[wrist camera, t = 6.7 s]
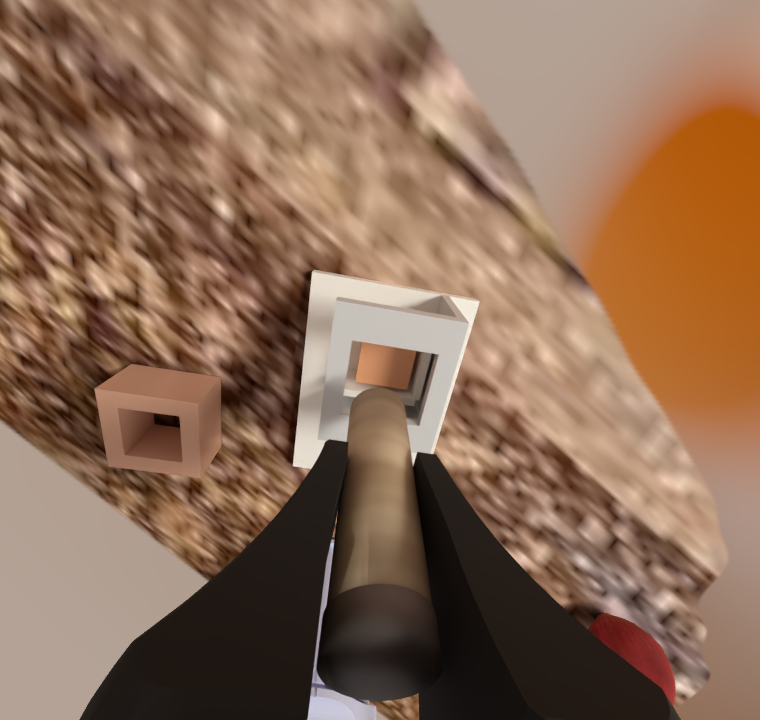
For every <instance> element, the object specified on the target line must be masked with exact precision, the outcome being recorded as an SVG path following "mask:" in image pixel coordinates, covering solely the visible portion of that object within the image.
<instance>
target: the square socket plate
mask: <svg viewBox="0 0 760 720" xmlns="http://www.w3.org/2000/svg"><path fill="white" fill-rule="evenodd" d="M478 305H479V301H478V300H477V299H475V298H469V297H464V296H458V295H452V294H447V293H441V292H436V291H430V290H424V289H419V288H413V287H408V286H402V285H397V284H391V283H385V282H380V281H374V280H369V279H363V278H358V277H352V276H346V275H341V274H335V273H330V272H324V271H319V270H313V271H312V278H311V288H310V299H309V309H308V319H307V329H306V339H305V349H304V359H303V369H302V379H301V389H300V399H299V409H298V419H297V429H296V439H295V450H294V460H293V466H295V467H303V468H310V469H312V467H313V465H314V464H315V462H316V460H317V459H318V457H319V455H320V453H321V451H322V449H323V446H324V443H325V442H326V441H327V440H329V439H331V440H338V441H345V442H346V441H347V433H348V425H349V417H350V408H351V404H352V402H353V400H354V399H355V397H356V396H357V395H358V394H360V393H361V392H363V391H365V390H367V389H370V388H385V389H389V390H391V391H393V392H395V393H396V394H397V395H398V396H399V397H400V398H401V399H402V401H403V403H404V406H405V413H406V420H407V427H408V434H409V441H410V449H411V456H412V463H413V465H414V462H415V458H416V455H417V452H422V453H429V454H433V453H434V449H435V446H436V443H437V440H438V436H439V433H440V430H441V426H442V423H443V420H444V417H445V413H446V410H447V407H448V404H449V400H450V397H451V394H452V390H453V387H454V384H455V381H456V377H457V374H458V371H459V368H460V364H461V361H462V358H463V354H464V351H465V348H466V345H467V341H468V338H469V335H470V331H471V328H472V325H473V322H474V318H475V315H476V312H477V309H478ZM361 342H366V343H372V344H378V345H384V346H390V347H396V348H402V349H408V350H414V351H416V355H415V359H414V364H413V368H412V372H411V376H410V380H409V384H408V388H407V390H405V389H398V388H392V387H385V386H379V385H372V384H366V383H359V382H355V380H356V372H357V364H358V358H359V352H360V346H361Z"/></svg>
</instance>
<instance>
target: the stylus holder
mask: <svg viewBox="0 0 760 720" xmlns="http://www.w3.org/2000/svg"><path fill="white" fill-rule="evenodd" d="M95 394H96V400H97V405H98V411H99V416H100V422H101V428H102V433H103V439H104V444H105V450H106V456H107V461H108V466H109V467H117V468H125V469H133V470H141V471H149V472H157V473H165V474H172V475H180V476H188V477H196V478H201V477H202V476H203V474H204V473H205V471H206V469H207V468H208V466H209V465H210V463H211V461H212V460H213V458H214V457H215V455H216V453H217V452H218V450H219V449H220V447H221V377H215V376H209V375H202V374H195V373H189V372H182V371H175V370H169V369H162V368H155V367H149V366H142V365H135V364H130V365H129V366H128V367H126V368H125V369H123V370H122V371H120V372H119V373H117V374H116V375H114V376H113V377H111V378H110V379H108V380H107V381H105V382H104V383H102V384H101V385H99V386H98V387H96V388H95ZM154 413H158V414H165V415H172V416H180V428H178V427H171V426H163V425H156V424H155V421H154Z"/></svg>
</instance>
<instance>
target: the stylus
mask: <svg viewBox="0 0 760 720" xmlns="http://www.w3.org/2000/svg"><path fill="white" fill-rule="evenodd" d="M346 442H349V444H348V457H347V463H346V468H345V473H344V479H343V484H342V489H341V493H340V499H339V507H338V515H337V523H336V531H335V540H334V548H333V556H332V564H331V572H330V581H329V589H328V597H327V605H326V608H325V610H324V613H323V617H322V625H321V633H320V641H319V648H318V656H317V665H316V669H317V673H318V676H319V678H320V679H321V681H322V682H323V683H324V684H325V685H326V686H328V687H329V688H330V689H332V690H334V691H335V692H338V693H340V694H342V695H345V696H348V697H352V698H356V699H361V700H369V701H387V700H396V699H401V698H406V697H409V696H412V695H415V694H418V693H420V692H422V691H424V690H426V689H427V688H429V687H430V686H432V685H433V684H434V683H435V682H436V681H437V680H438V679H439V677H440V676H441V674H442V671H443V658H442V651H441V644H440V637H439V630H438V624H437V617H436V612H435V609H434V607H433V605H432V599H431V592H430V585H429V578H428V570H427V563H426V556H425V549H424V542H423V535H422V527H421V520H420V513H419V506H418V499H417V492H416V484H415V477H414V470H413V463H412V456H411V449H410V441H409V434H408V427H407V420H406V413H405V406H404V403H403V401H402V399H401V398H400V397H399V396H398V395H397V394H396V393H395V392H393V391H391V390H389V389H385V388H370V389H367V390H365V391H363V392H361V393H360V394H358V395H357V396H356V397H355V399H354V400H353V402H352V404H351V408H350V417H349V425H348V433H347V441H346Z"/></svg>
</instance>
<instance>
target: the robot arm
mask: <svg viewBox="0 0 760 720" xmlns="http://www.w3.org/2000/svg"><path fill="white" fill-rule="evenodd" d="M348 444H349V442H345V441H338V440H331V439H329V440H327V441H326V442H325V443H324V446H323V449H322V451H321V453H320V455H319V457H318V459H317V460H316V462H315V464H314V465H313V467H312V469H311V470H310V472H309V473H308V475H307V476H306V478H305V479H304V481H303V482H302V483H301V485H300V486H299V488H298V489H297V490H296V492H295V493H294V494H293V495H292V497H291V498H290V499H289V501H288V502H287V503H286V504H285V506H284V507H283V508H282V509H281V511H280V512H279V513H278V514H277V515H276V517H275V518H274V519H273V520H272V521H271V522H270V523H269V524H268V526H267V527H266V528H265V529H264V530H263V531H262V532H261V533H260V534H259V535H258V536H257V537H256V538H255V539H254V540H253V541H252V542H251V543H250V544H249V545H248V546H247V547H246V548H245V549H244V550H243V551H242V552H241V553H240V554H239V555H238V556H237V557H236V558H235V559H234V560H233V561H232V562H231V563H230V564H228V565H227V566H226V567H225V568H224V569H223V570H222V571H221V572H219V573H218V574H217V575H216V576H215V577H214V578H212V579H211V580H210V581H209V582H208V583H207V584H205V585H204V586H203V587H202V588H201V589H200V590H198V591H197V592H196V593H195V594H194V595H193V596H191V597H190V598H189V599H188V600H186V601H185V602H184V603H183V604H181V605H180V606H179V607H177V608H176V609H175V610H173V611H172V612H171V613H169V614H168V615H167V616H165V617H164V618H163V619H161V620H160V621H159V622H158V623H156V624H155V625H154V626H152V627H151V628H150V629H148V630H147V631H146V632H144V633H143V634H142V635H140V636H139V637H138V638H136V639H135V640H134V641H133V642H132V643H131V644H130V645H129V647H128V648H127V649H126V651H125V652H124V653H123V655H122V656H121V657H120V659H119V660H118V661H117V663H116V664H115V665H114V667H113V668H112V669H111V671H110V672H109V674H108V675H107V677H106V678H105V680H104V681H103V682H102V684H101V685H100V687H99V688H98V690H97V691H96V693H95V694H94V696H93V697H92V699H91V700H90V702H89V704H88V705H87V707H86V709H85V711H84V712H83V714H82V716H81V718H80V720H376V706H375V705H369V700H361V699H356V698H352V697H348V696H345V695H342V694H340V693H338V692H335V691H334V690H332V689H330V688H329V687H328V686H326V685H325V684H324V683H323V682H322V681H321V679H320V678H319V676H318V673H317V669H316V665H317V656H318V648H319V641H320V633H321V625H322V617H323V613H324V610H325V608H326V605H327V597H328V589H329V581H330V572H331V564H332V556H333V548H334V540H333V539H332V535H333V531H334V527H335V522H336V517H337V511H338V506H339V499H340V493H341V489H342V484H343V479H344V473H345V468H346V463H347V457H348ZM413 470H414V477H415V484H416V492H417V499H418V506H419V513H420V520H421V527H422V535H423V542H424V549H425V556H426V563H427V570H428V578H429V585H430V592H431V599H432V605H433V607H434V609H435V612H436V617H437V624H438V630H439V637H440V644H441V651H442V658H443V671H442V674H441V676H440V677H439V679H438V680H437V681H436V682H435V683H434V684H433V685H432V686H430V687H429V688H427V689H426V690H424V691H422V692H420V693H419V720H681V719H680V718H679V716H678V714H677V713H676V711H675V709H674V707H673V706H672V704H671V702H670V700H669V699H668V697H667V696H666V694H665V693H664V691H663V689H662V688H661V687H659V686H658V685H657V684H656V683H654V682H653V681H652V680H650V679H649V678H648V677H647V676H645V675H644V674H643V673H641V672H640V671H639V670H637V669H636V668H635V667H634V666H632V665H631V664H630V663H628V662H627V661H626V660H625V659H623V658H622V657H621V656H619V655H618V654H617V653H616V652H614V651H613V650H612V649H610V648H609V647H608V646H607V645H605V644H604V643H603V642H602V641H601V640H599V639H598V638H597V637H596V636H595V635H594V634H592V633H591V632H590V631H589V630H588V629H587V628H585V627H584V626H583V625H582V624H581V623H580V622H578V621H577V620H576V619H575V618H574V617H573V616H572V615H570V614H569V613H568V612H567V611H566V610H565V609H564V608H563V607H562V606H561V605H559V604H558V603H557V602H556V601H555V600H554V599H553V598H552V597H551V596H550V595H549V594H548V593H547V592H546V591H545V590H544V589H543V588H542V587H541V586H540V585H539V584H538V583H536V582H535V581H534V580H533V578H532V577H531V576H530V575H529V574H528V573H527V572H526V571H525V570H524V569H523V568H522V567H521V566H520V565H519V564H518V563H517V562H516V561H515V559H514V558H513V557H512V556H511V555H510V554H509V553H508V552H507V551H506V550H505V549H504V547H503V546H502V545H501V544H500V543H499V542H498V540H497V539H496V538H495V537H494V536H493V534H492V533H491V532H490V531H489V529H488V528H487V527H486V526H485V524H484V523H483V522H482V521H481V519H480V518H479V517H478V515H477V514H476V513H475V511H474V510H473V508H472V507H471V506H470V504H469V503H468V501H467V500H466V499H465V497H464V496H463V494H462V493H461V491H460V490H459V488H458V487H457V485H456V484H455V482H454V481H453V479H452V478H451V476H450V475H449V473H448V472H447V470H446V469H445V467H444V466H443V464H442V463H441V461H440V460H439V458H438V457H437V455H436V454H429V453H422V452H417V455H416V458H415V462H414V465H413Z"/></svg>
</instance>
